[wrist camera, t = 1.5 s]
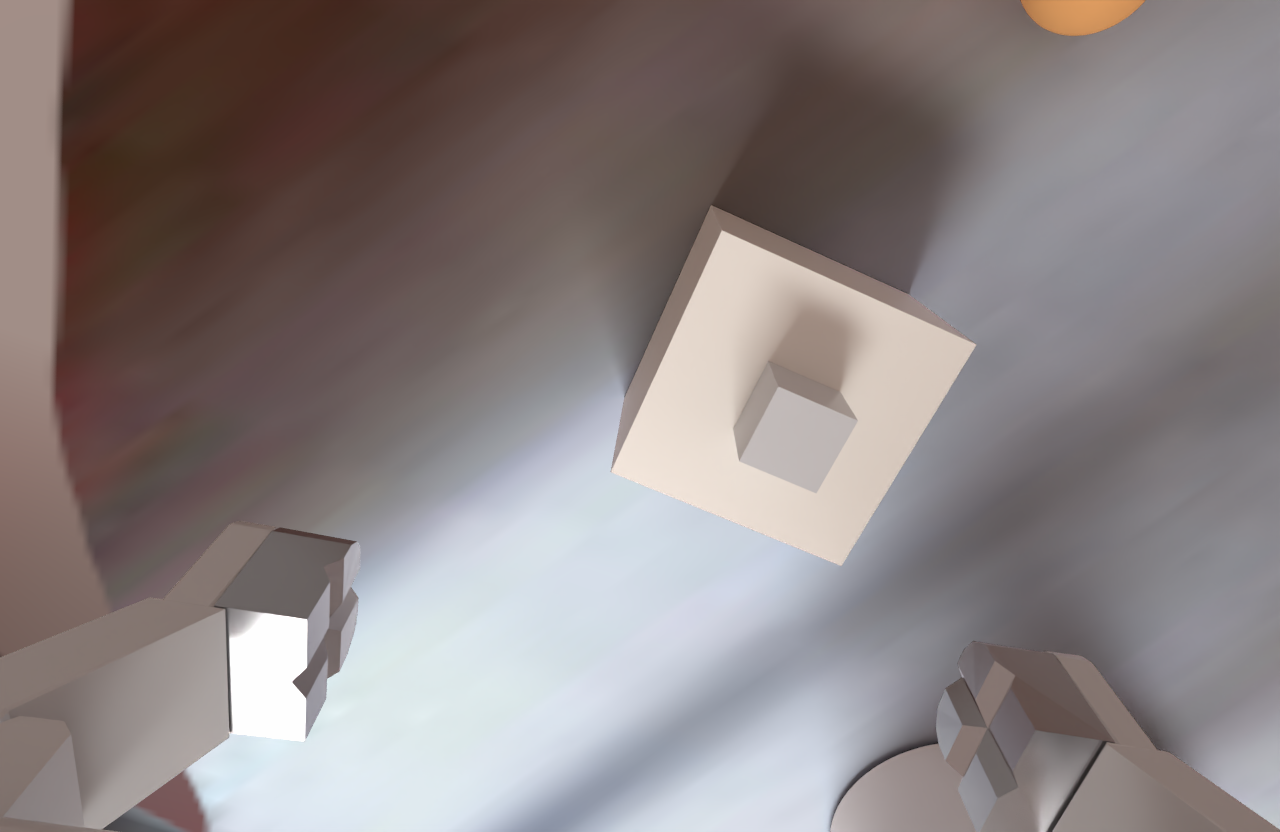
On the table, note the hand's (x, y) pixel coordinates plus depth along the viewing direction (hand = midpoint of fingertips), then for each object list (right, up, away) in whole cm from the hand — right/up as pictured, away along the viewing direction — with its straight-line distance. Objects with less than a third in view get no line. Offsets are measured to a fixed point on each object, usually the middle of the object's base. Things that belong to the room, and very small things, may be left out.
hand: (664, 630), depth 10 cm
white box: (+6, +6, +27) cm, 29 cm away
